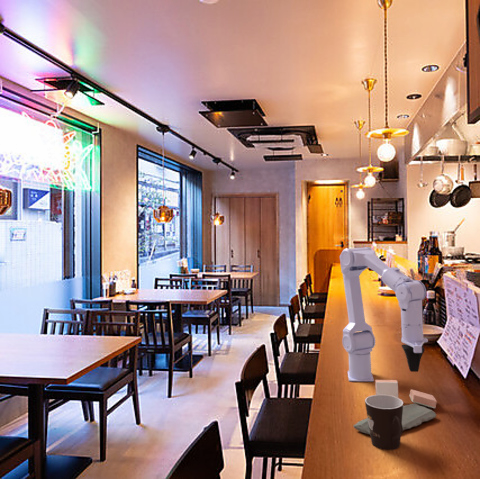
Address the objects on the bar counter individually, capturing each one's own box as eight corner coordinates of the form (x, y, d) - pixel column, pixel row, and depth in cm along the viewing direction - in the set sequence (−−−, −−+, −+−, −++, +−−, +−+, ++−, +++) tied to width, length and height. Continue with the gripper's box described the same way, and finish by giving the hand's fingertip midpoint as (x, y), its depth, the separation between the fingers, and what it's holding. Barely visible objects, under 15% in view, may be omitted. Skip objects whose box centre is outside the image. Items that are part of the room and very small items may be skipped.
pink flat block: (410, 389, 128) (414, 394, 122) (432, 395, 127) (436, 401, 121) (409, 395, 128) (412, 401, 122) (431, 402, 127) (435, 408, 121)
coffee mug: (366, 433, 110) (365, 393, 110) (403, 436, 108) (402, 395, 107) (366, 457, 99) (364, 412, 99) (407, 461, 96) (405, 415, 96)
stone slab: (439, 422, 116) (407, 406, 124) (440, 412, 116) (407, 396, 124) (380, 447, 104) (349, 427, 113) (381, 436, 104) (350, 417, 113)
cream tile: (376, 400, 131) (375, 379, 130) (397, 400, 129) (396, 380, 129) (376, 402, 129) (376, 382, 128) (398, 403, 127) (397, 382, 127)
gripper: (433, 329, 118) (435, 379, 119) (421, 318, 133) (422, 363, 133) (405, 329, 120) (407, 379, 120) (396, 318, 134) (398, 362, 134)
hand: (413, 370), depth 127 cm, fingers closed
